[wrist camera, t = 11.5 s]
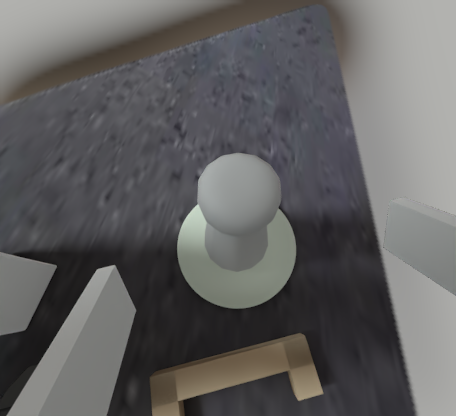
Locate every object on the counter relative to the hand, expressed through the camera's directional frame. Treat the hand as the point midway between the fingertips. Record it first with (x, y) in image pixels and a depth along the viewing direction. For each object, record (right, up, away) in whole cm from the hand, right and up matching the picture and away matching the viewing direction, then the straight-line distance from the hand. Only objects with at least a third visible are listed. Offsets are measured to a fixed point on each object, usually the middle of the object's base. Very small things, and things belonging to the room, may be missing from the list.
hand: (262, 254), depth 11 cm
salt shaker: (-1, -2, +12) cm, 12 cm away
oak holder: (-1, -12, +8) cm, 15 cm away
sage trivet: (-1, -2, +12) cm, 13 cm away
